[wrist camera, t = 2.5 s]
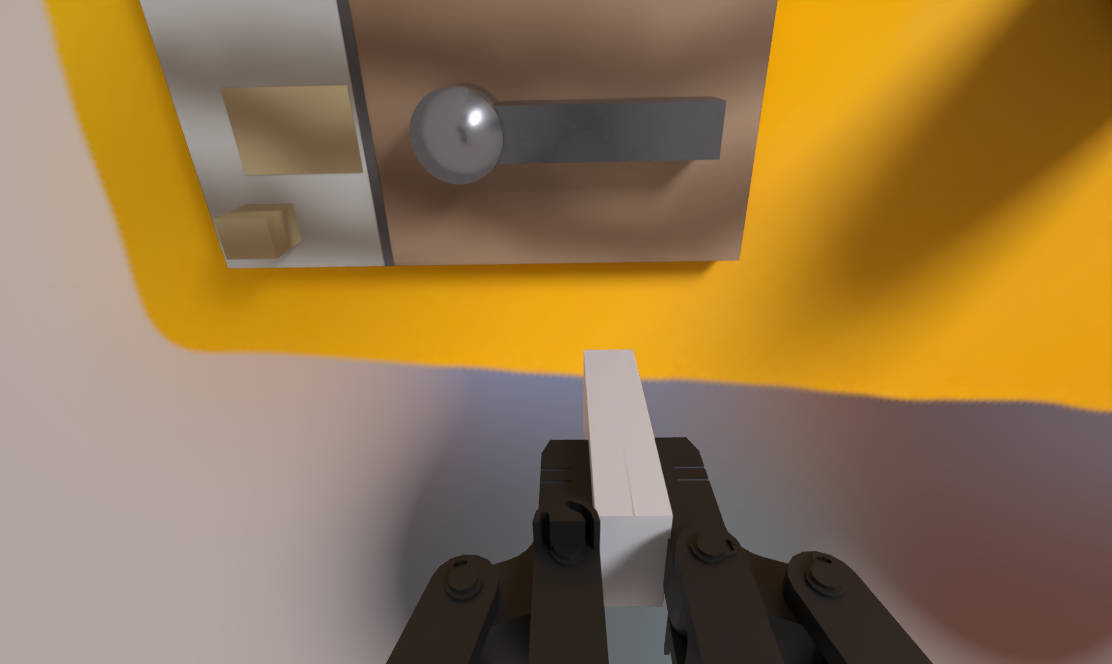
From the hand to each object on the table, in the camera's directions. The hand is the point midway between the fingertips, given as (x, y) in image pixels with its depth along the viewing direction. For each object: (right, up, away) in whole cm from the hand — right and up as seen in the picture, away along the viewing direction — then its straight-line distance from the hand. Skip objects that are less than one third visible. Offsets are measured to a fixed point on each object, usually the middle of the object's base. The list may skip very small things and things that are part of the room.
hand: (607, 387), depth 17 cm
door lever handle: (-1, +11, +9) cm, 14 cm away
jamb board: (-6, +15, +9) cm, 19 cm away
